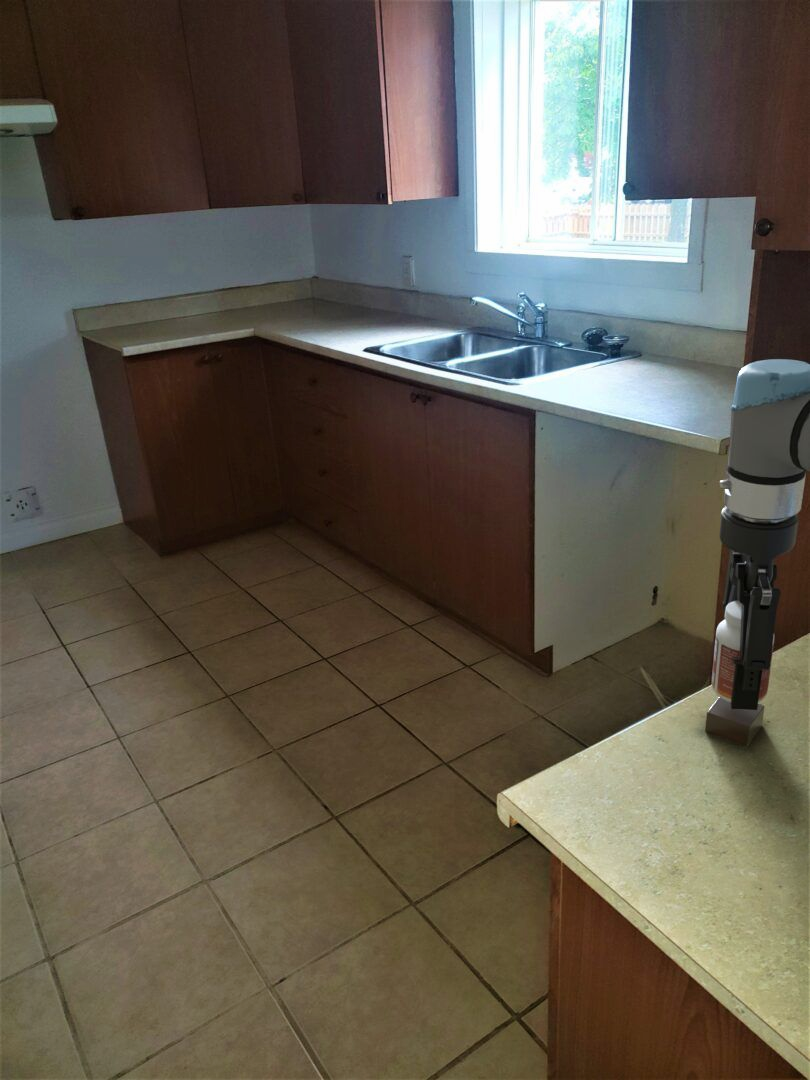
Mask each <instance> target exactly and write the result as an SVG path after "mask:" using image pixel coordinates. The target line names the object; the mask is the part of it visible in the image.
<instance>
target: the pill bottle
mask: <svg viewBox="0 0 810 1080" xmlns="http://www.w3.org/2000/svg"><path fill="white" fill-rule="evenodd" d="M741 608H742V604H741V603H740V602H739V601H738V600H737V601H733V602H731V603H729V604H728V605H727V606H726V610H724V619H723V620H722V621H720V622H719V623H718V625H717V627H716V631H715V640H714V651H713V662H712V673H711V689H712V690H713V692H714V693H715V694H716V695H717V697H718V698H719V697H721V698H722V699H724V700H726V701H729V702H731V698H732V689H733V681H734V673H735V664H733V661H732V657H740V633H741ZM774 645H775V635H774V636H773V644H772V653H771V662H770V663H771V664H772V659H773V654H774ZM771 668H772V665H771V666H770V669H769V670H762V678H761V685H760V692H759V699H758V703H760V702H762V701H763V700H764V699H765V698H766V697H767V696H768V692H769V684H770V676H771Z"/></svg>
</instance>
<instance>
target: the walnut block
mask: <svg viewBox="0 0 810 1080" xmlns="http://www.w3.org/2000/svg"><path fill="white" fill-rule="evenodd" d="M764 712H765V705H763V704H760V703H758V706H757V710H746V709H732V708H731V702H729V701H726V700H724V699H722V698H721V697H719V696H718V697H717V699H716V700H715V702H713V704H712V705H711V706H710V708H709V709H708V710H707V712H706V717H705V727H704V732H705V733H708V734H711V735H713V736H715V737H719V738H721V739H723V740H726V741H729V742H732V743H734V744H737V745H738V746H739V745H740V746H742V747H744V748H748V746H749V745H750V743H751V742H752V741H753V739H754V737H756V735H757V733H758V732H759V730H760V729H761V728H762V726H763V721H764Z"/></svg>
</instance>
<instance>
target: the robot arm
mask: <svg viewBox="0 0 810 1080" xmlns="http://www.w3.org/2000/svg"><path fill="white" fill-rule="evenodd" d="M736 378H737V379H736V384H735V389H734V394H733V395H734V396H733V402H732V404H731V405H730V406H731V407H730V410H731V413H730V414H731V415H730V416H731V417H730V433H729V450H728V460H727V464H726V472H725V473H726V479H722V480H720V481H719V482H718V483H719V486H718V487H719V488H720V489H721V490H724V492H723V493H724V494H723V506H724V507H723V508H722V510H721V517H720V527H719V540H720V543H722V545H723V546H724V547H726V548H727V549H728V550H729V556H728V564H727V571H726V580H725V588H724V594H723V600H722V601H723V602H722V608H723V610H724V611H725V610H726V606H727V605H728V604H729V603H731V602H733V601H737V600H738V601H739V602H740V603H741V604H742V608H741V633H740V657H732V661H733V664H735V673H734V681H733V689H732V698H731V708H732V709H746V710H757V706H758V704H759V702H758V699H759V692H760V685H761V678H762V670H769V669H770V666H771V667H772V661H771V653H772V644H773V636H774V637H775V626H776V619H777V617H776V616H777V610H778V605H779V602H780V598H781V595H782V593H781V589H780V587H778V586H777V587H775V582H776V580H777V575H778V566H777V563H774V559H775V558H777V557H780V556H781V555H785V554H787V553H788V552H790V551H791V550H792V549H793V548H794V547H795V544H796V541H797V533H798V526H799V520H800V518H799V517H800V516H799V515H798V513H799V512H801V510H802V506H803V505H802V504H803V496H804V490H805V484H806V477H807V476H806V474H807V473H806V472H810V364H809V363H808V362H807V361H803V360H796V359H785V358H784V359H782V358H775V359H773V358H772V359H763V360H757V361H754V362H751V363H748V364H746V365H745V366H743V367H742V368H741V369H740V370H739V372H738V374H737V377H736ZM772 654H773V653H772ZM770 662H771V663H770Z"/></svg>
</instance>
